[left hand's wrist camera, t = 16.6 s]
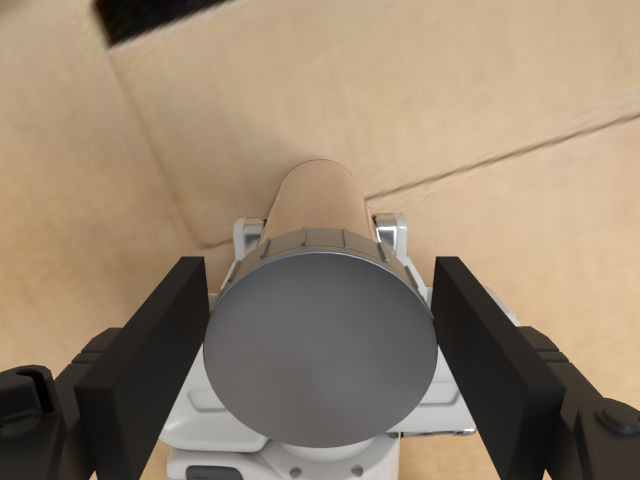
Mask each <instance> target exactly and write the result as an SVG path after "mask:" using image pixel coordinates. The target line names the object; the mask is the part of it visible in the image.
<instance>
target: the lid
mask: <svg viewBox="0 0 640 480" xmlns="http://www.w3.org/2000/svg"><path fill="white" fill-rule="evenodd" d="M418 288H419V286H418V284H417V282H416V280H415V278H414V276H413V274H412V272H411V270H410V268H409V267H408V266H407V265H406V266H404V265H403V264H402V263H401V261H400V260H399V259H398V258H397V257H396V256H395V255H394V254H392V253H391V252H390V251H389V250H387V249H386V248H385V247H384V246H383V244H382V243H381V242H380V241H379V242H378V243H377V242H375V241H373V240H371V239H369V238H367V237H364V236H362V235H359V234H357V233H353V232H349V231H347V229H346V228H343V229H342V230H340V229H333V228H309V229H307V227H303V229H300V230H296V231H292V232H287V233H284V234H282V235H279V236H276V237H274V238H272V239H269V238H266V239H265V242H264V243H262V244H261V245H259V246H258V247H256V248H255V249H254V250H252V251H251V252H249V253H248V254H247V255H246V256H245V257H244V258H243V259H242V260H241V261H240V260H238V261H237V262H236V264H235V266H234V268H233V270H232V272H231V274H230V276H229V278H228V280H227V281H226V283H225V285H224V287H223V289H220V290H219V292H218V294H217V296H216V298H215V300H214V302H213V304H212V306H211V308H210V310H209V313H210V317H209V319H208V322H207V325H206V329H205V333H204V338H203V359H204V366H205V370H206V374H207V377H208V380H209V382H210V384H211V387H212V389H213V391H214V392H215V394H216V396H217V397H218V399H219V400H220V402H221V403H222V404H223V405H224V407H225V408H226V409H227V410H228V411H229V412H230V413H231V414H232V415H233V416H234V417H235V418H236V419H237V420H239V421H240V422H241V423H243V424H244V425H245V426H247V427H248V428H250V429H252V430H253V431H255V432H257V433H258V434H260V435H263V436H265V437H267V438H269V439H272V440H275V441H278V442H281V443H284V444H289V445H293V446H298V447H307V448H334V447H342V446H347V445H353V444H356V443H360V442H363V441H366V440H369V439H371V438H374V437H376V436H378V435H380V434H382V433H384V432H386V431H388V430H389V429H391V428H393V427H394V426H395V425H397V424H398V423H400V422H401V421H402V420H403V419H404V418H406V417H407V416H408V415H409V414H410V413H411V412H412V411H413V410H414V409H415V407H416V406H417V405H418V404H419V403H420V401H421V400H422V398H423V397H424V395H425V394H426V392H427V390H428V388H429V386H430V384H431V382H432V380H433V376H434V373H435V370H436V365H437V358H438V340H437V334H436V328H435V325H434V322H433V321H434V317H433V315H432V313H431V311H430V309H429V307H428V305H427V303H426V301H425V299H424V297H423V295H421V294H420V292H419V290H418Z"/></svg>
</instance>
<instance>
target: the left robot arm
mask: <svg viewBox="0 0 640 480" xmlns="http://www.w3.org/2000/svg"><path fill="white" fill-rule="evenodd" d="M209 310H210V307H209V298H208V289H207V280H206V271H205V262H204V257H181V259H180V260H179V261H178V262H177V263H176V265H175V266H174V267H173V268H172V269H171V271H170V272H169V273H168V274H167V275H166V277H165V278H164V279H163V280H162V281H161V283H160V284H159V285H158V286H157V287H156V289H155V290H154V291H153V292H152V293H151V295H150V296H149V297H148V298H147V300H146V301H145V302H144V303H143V304H142V306H141V307H140V308H139V309H138V310H137V312H136V313H135V314H134V315H133V316H132V318H131V319H130V320H129V321H128V322H127V324H126V325H125V326H124V327H123V328H108V329H107V330H105V331H104V332H102V333H100V334H99V335H97V336H96V337H94V338H92V340H91V341H90V342H89V343H88V344H87V345H86V346H85V347H84V348H83V349H82V350H81V353H79V354H78V355H77V356H76V357H75V358H74V359H73V360H72V363H71V364H69V365H68V366H67V367H66V368H65V369H64V370H63V371H62V372H61V373H60V374H59V375H58V377H57V378H56V379H55V380H53V377H52V373H51V370H49V369H48V368H46V367H45V366H39V365H27V366H19V367H16V368H12V369H9V370H6V371H3V372H1V373H0V480H89V479H90V477H91V476H92V474H93V472H94V471H96V475H97V479H98V480H139V479H140V477H141V475H142V473H143V470H144V468H145V466H146V464H147V462H148V460H149V458H150V455H151V453H152V451H153V449H154V447H155V445H156V442H157V440H158V438H159V436H160V434H161V432H162V430H163V427H164V425H165V423H166V421H167V419H168V417H169V414H170V412H171V410H172V408H173V406H174V404H175V402H176V399H177V397H178V395H179V393H180V391H181V389H182V386H183V384H184V382H185V380H186V378H187V376H188V374H189V371H190V369H191V367H192V365H193V363H194V361H195V358H196V356H197V354H198V352H199V350H200V348H201V346H202V343H203V338H204V333H205V329H206V325H207V322H208V319H209V317H210V313H209ZM430 311H431V313H432V315H433V317H434V321H433V322H434V325H435V328H436V334H437V340H438V346H439V348H440V350H441V352H442V354H443V356H444V358H445V361H446V363H447V365H448V367H449V369H450V371H451V374H452V376H453V378H454V380H455V382H456V384H457V386H458V389H459V391H460V393H461V395H462V397H463V399H464V402H465V404H466V406H467V408H468V410H469V412H470V414H471V417H472V419H473V421H474V423H475V425H476V427H477V430H478V432H479V434H480V436H481V438H482V440H483V442H484V445H485V447H486V449H487V451H488V453H489V455H490V458H491V460H492V462H493V464H494V466H495V468H496V470H497V473H498V475H499V477H500V479H501V480H542V479H543V475H544V471H545V469H546V470H547V472H548V474H549V475H550V477H551V479H552V480H640V411H638V410H637V409H635V408H633V407H631V406H629V405H627V404H625V403H622V402H619V401H616V400H614V399H610V398H604V397H603V396H602V395H601V394H600V393H599V392H598V391H597V390H596V389H595V388H594V387H593V386H592V384H591V383H590V382H589V381H588V380H587V379H586V378H585V377H584V376H583V375H582V374H581V373H580V371H579V370H578V369H577V368H576V367H575V366H574V365H573V364H572V363H569V360H568V358H567V357H566V356H565V355H564V354H563V353H562V352H559V349H558V348H557V347H556V345H555V344H554V343H553V342H552V341H551V340H550V339H549V338H548V337H547V336H545V335H544V334H542V333H540V332H539V331H537V330H536V329H534V328H532V327H531V326H515V325H514V324H513V322H512V321H511V320H510V319H509V318H508V316H507V315H506V314H505V313H504V312H503V310H502V309H501V308H500V307H499V306H498V304H497V303H496V302H495V301H494V300H493V298H492V297H491V296H490V295H489V293H488V292H487V291H486V290H485V289H484V287H483V286H482V285H481V284H480V283H479V281H478V280H477V279H476V278H475V277H474V275H473V274H472V273H471V272H470V271H469V269H468V268H467V267H466V266H465V265H464V263H463V262H462V261H461V260H460V259H459V257H436V262H435V271H434V280H433V289H432V298H431V307H430Z"/></svg>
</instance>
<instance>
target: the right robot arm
mask: <svg viewBox="0 0 640 480" xmlns="http://www.w3.org/2000/svg"><path fill="white" fill-rule="evenodd" d="M372 218H373V220H374V223H375V225H376V228H377V230H378V233H379V235H380V237H381V240H382V242H383V245H384V247H385V248H386V249H387V250H389V251H390V252H391V253H392V254H394V255H395V256H396V257H397V258H398V259H399V260H400V261H401V263H402V264H403V265H404V266H406V265H407V266H408V267H409V268H410V270H411V272H412V274H413V276H414V278H415V280H416V282H417V284H418V286H419V288H418V290H419V292H420V294H421V295H423V297H424V299H425V301H426V303H427V305H428V307H429V309H430V307H431V298H432V289H433V287H426V286H425V284H424V282H423V280H422V278H421V276H420V275H419V273H418V271H417V269H416V267H415V266H414V264H413V262H412V261H411V259H410V257H409V255H408V254H407V252H406V249H407V221H406V218H405V217H404V215H403V214H402V213H382V214H373V215H372ZM266 221H267V217H255V218H247V217H244V218H237V220H236V221H235V223H234V225H233V241H234V250H235V260H234V262H233V264H232V266H231V268H230V270H229V272H228V274H227V276H226V278H225V280H224V282H223V284H222V286H221V288H220V289H223V287H224V285H225V283H226V281H227V280H228V278H229V276H230V274H231V272H232V270H233V268H234V266H235V264H236V262H237V261H238V260H240V261H241V260H242V259H243V258H244V257H245V256H246V255H247V254H248V253H249V252H251V251H252V250H254V249H255V248H256V246H257V243H258V241H259V238H260V236H261V233H262V231H263V229H264V226H265V224H266ZM483 287H484V289H485V290H486V291H487V292H488V293H489V295H490V296H491V297H492V298H493V300H494V301H495V302H496V303H497V304H498V306H499V307H500V308H501V309H502V310H503V312H504V313H505V314H506V315H507V316H508V318H509V319H510V320H511V321H512V322H513V324H514V325H515V326H521V324H520V321H519V319H518V318H517V316H516V315H515V314H514V312H513V311H512V310H511V308H510V307H509V306H508V305H507V303H506V302H505V301H504V300H503V299H502V298H501V297H500V296H499V295H498V294H496V293H495V292H494V291H493V290H492V289H491V288H489V287H487V286H483ZM217 294H218V293H208V298H209V307H210V308H211V306H212V304H213V302H214V300H215V298H216V296H217ZM476 428H477V427H476V425H475V423H474V421H473V419H472V417H471V414H470V412H469V410H468V408H467V406H466V404H465V402H464V399H463V397H462V395H461V393H460V391H459V389H458V386H457V384H456V382H455V380H454V378H453V376H452V374H451V371H450V369H449V367H448V365H447V363H446V361H445V358H444V356H443V354H442V352H441V350H440V348H439V346H438V358H437V365H436V370H435V373H434V376H433V380H432V382H431V384H430V386H429V388H428V390H427V392H426V394H425V395H424V397H423V398H422V400H421V401H420V403H419V404H418V405H417V406H416V407H415V409H414V410H413V411H412V412H411V413H410V414H409V415H408V416H407V417H406V418H404V419H403V420H402V421H401V422H400V423H398V424H397V425H395V426H394V427H393V428H391V429H389V430H388V431H386V432H384V433H382V434H380V435H378V436H376V437H374V438H371V439H369V440H366V441H363V442H360V443H356V444H353V445H347V446H342V447H334V448H307V447H298V446H293V445H289V444H284V443H281V442H278V441H275V440H272V439H269V438H267V437H265V436H263V435H260V434H258V433H257V432H255V431H253V430H252V429H250V428H248V427H247V426H245V425H244V424H243V423H241V422H240V421H239V420H237V419H236V418H235V417H234V416H233V415H232V414H231V413H230V412H229V411H228V410H227V409H226V408H225V407H224V405H223V404H222V403H221V402H220V400H219V399H218V397H217V396H216V394H215V392H214V391H213V389H212V387H211V384H210V382H209V380H208V377H207V374H206V370H205V366H204V359H203V343H202V346H201V348H200V350H199V352H198V354H197V356H196V358H195V361H194V363H193V365H192V367H191V369H190V371H189V374H188V376H187V378H186V380H185V382H184V384H183V386H182V389H181V391H180V393H179V395H178V397H177V399H176V402H175V404H174V406H173V408H172V410H171V412H170V414H169V417H168V419H167V421H166V423H165V425H164V427H163V430H162V432H161V434H160V436H159V439H160V440H161V441H163V442H164V443H166V444H168V445H170V446H171V449H170V453H169V457H168V460H167V464H166V474H167V478H168V480H398V473H399V455H400V439H401V438H402V437H403V438H404V437H430V436H436V435H445V434H446V435H450V434H452V435H453V436H468V435H472V434H475V433H476Z"/></svg>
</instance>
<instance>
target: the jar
mask: <svg viewBox="0 0 640 480" xmlns="http://www.w3.org/2000/svg"><path fill="white" fill-rule="evenodd" d="M303 227H307V229H309V228H333V229H340V230H342V229H343V228H346V229H347V231H349V232H353V233H357V234H359V235H362V236H364V237H367V238H369V239H371V240H373V241H375V242H377V243H378V242H379V241H380V242H381V243H382V244H383V242H382V240H381V237H380V235H379V233H378V230H377V228H376V225H375V223H374V220H373V218H372V216H371V213H370V211H369V208H368V206H367V203H366V201H365V199H364V196H363V194H362V191H361V189H360V186H359V184H358V182H357V180H356V178H355V177H354V176H353V175H352V173H351V172H350V171H349V170H348V169H346V168H345V167H343V166H342V165H340V164H338V163H335V162H333V161H329V160H312V161H308V162H305V163H302V164H300V165H299V166H297V167H295V168H294V169H293V170H292V171H291V172H290V173H289V174H288V175H287V176H286V178H285V179H284V181H283V183H282V184H281V187H280V189H279V192H278V194H277V197H276V199H275V202H274V204H273V206H272V209H271V211H270V214H269V216H268V219H267V221H266V224H265V226H264V229H263V231H262V233H261V236H260V238H259V241H258V243H257V246H256V247H258V246H259V245H261V244H262V243H264V242H265V239H266V238H269V239H272V238H274V237H276V236H279V235H282V234H284V233H287V232H292V231H296V230H300V229H303ZM383 246H384V245H383Z"/></svg>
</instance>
